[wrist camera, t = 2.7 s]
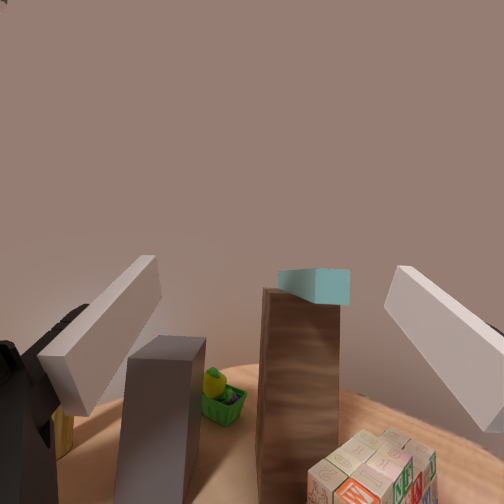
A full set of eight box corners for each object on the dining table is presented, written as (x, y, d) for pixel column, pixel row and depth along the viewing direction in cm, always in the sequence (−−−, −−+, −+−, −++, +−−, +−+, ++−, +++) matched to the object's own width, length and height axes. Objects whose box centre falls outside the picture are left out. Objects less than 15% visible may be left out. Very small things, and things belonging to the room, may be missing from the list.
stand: (336, 528, 30) (340, 296, 33) (260, 526, 30) (270, 293, 33) (307, 448, 44) (312, 290, 47) (255, 446, 44) (263, 287, 47)
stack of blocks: (390, 488, 37) (389, 406, 38) (439, 522, 32) (437, 427, 33) (302, 597, 24) (306, 468, 25) (363, 684, 19) (364, 517, 20)
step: (180, 517, 31) (192, 360, 33) (112, 515, 31) (127, 357, 33) (198, 449, 43) (206, 337, 45) (149, 447, 43) (159, 335, 44)
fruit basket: (247, 415, 54) (250, 364, 55) (223, 436, 47) (226, 377, 48) (211, 398, 60) (214, 353, 61) (184, 415, 53) (188, 363, 54)
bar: (349, 305, 23) (349, 270, 24) (314, 303, 23) (315, 268, 23) (294, 288, 49) (294, 272, 49) (277, 287, 49) (278, 271, 49)
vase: (40, 441, 43) (51, 360, 44) (78, 437, 44) (87, 359, 45) (16, 469, 37) (29, 374, 38) (61, 463, 38) (72, 372, 40)
